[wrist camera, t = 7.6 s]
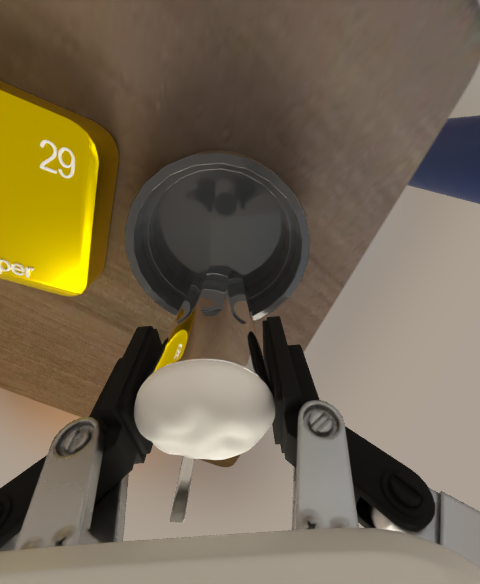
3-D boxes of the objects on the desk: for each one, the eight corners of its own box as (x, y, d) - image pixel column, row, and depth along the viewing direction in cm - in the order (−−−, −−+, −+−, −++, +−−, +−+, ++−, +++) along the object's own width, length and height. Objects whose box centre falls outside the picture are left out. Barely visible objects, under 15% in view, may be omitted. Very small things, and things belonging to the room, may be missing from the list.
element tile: (-57, 233, 24) (-115, 252, 20) (-100, 36, 17) (-204, 4, 13) (103, 281, 28) (81, 306, 24) (124, 133, 20) (97, 132, 16)
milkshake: (172, 316, 16) (102, 516, 8) (191, 242, 13) (115, 420, 5) (238, 333, 17) (241, 529, 8) (268, 266, 14) (316, 453, 6)
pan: (300, 143, 21) (318, 144, 17) (293, 294, 29) (303, 320, 25) (122, 157, 21) (95, 162, 17) (163, 304, 29) (152, 332, 25)
